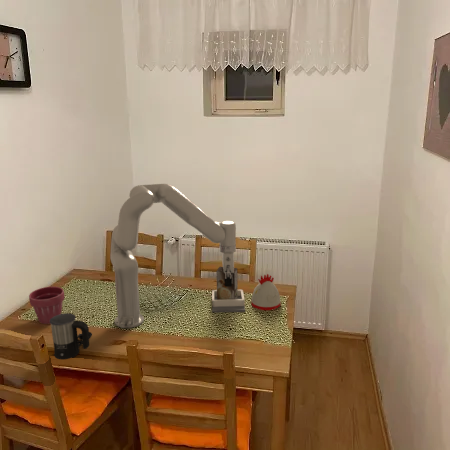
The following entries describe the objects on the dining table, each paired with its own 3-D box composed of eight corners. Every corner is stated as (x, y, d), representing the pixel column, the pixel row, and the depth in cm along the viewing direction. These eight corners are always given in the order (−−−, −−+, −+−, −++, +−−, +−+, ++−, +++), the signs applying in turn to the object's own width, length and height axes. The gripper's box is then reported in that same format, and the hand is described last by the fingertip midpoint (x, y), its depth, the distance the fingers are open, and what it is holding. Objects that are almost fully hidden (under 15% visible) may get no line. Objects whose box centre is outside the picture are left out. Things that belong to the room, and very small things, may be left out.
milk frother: (52, 361, 166) (48, 325, 162) (56, 340, 181) (52, 307, 177) (92, 356, 170) (88, 320, 166) (92, 335, 185) (89, 303, 181)
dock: (245, 311, 204) (245, 303, 203) (212, 312, 204) (212, 304, 203) (242, 293, 224) (242, 286, 223) (212, 294, 223) (212, 286, 222)
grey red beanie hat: (246, 301, 215) (246, 272, 211) (270, 295, 221) (270, 267, 217) (261, 312, 203) (261, 282, 199) (286, 306, 210) (287, 276, 206)
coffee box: (238, 299, 215) (238, 267, 211) (235, 304, 209) (235, 272, 205) (220, 297, 218) (219, 266, 213) (216, 302, 212) (215, 270, 207)
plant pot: (36, 330, 189) (32, 302, 186) (29, 317, 201) (26, 291, 197) (70, 321, 197) (67, 294, 194) (62, 309, 208) (59, 283, 205)
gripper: (236, 253, 198) (236, 289, 203) (234, 241, 215) (234, 275, 219) (219, 254, 198) (220, 289, 203) (219, 242, 215) (219, 275, 219)
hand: (227, 282), depth 211 cm, fingers open, 9 cm apart
